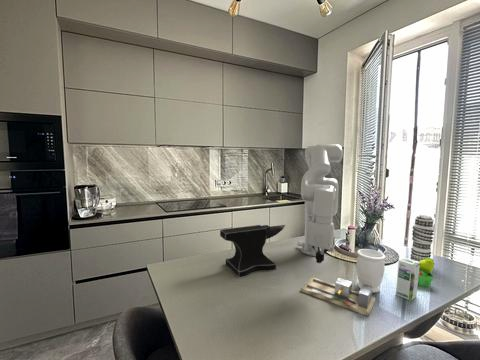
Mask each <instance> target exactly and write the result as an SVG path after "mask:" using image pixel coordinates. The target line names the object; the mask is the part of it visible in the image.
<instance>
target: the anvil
mask: <svg viewBox="0 0 480 360" xmlns="http://www.w3.org/2000/svg"><path fill="white" fill-rule="evenodd" d="M285 227H286V224H281V225H271V226H270V225H267V224H264V225H260V224H256V225H250V226H249V225H247V226H241V227H232V228H225V229H220V230H219V236H220V237H221V238H222V239H223V240H224V241H227V242H232V244H233V245H234V249H235V252H234V255H233V256H232V257H230V258H225V265H226V266H227V268H229V269H230V271H231V272H232V273H233V274H234V275H235V276H236V277H237V278H238V279H239V278H245V277H247V276H249V275H251V274H253V273H256V272H270V271H276V270H277V263H276V262H274V261H273V260H271V259H270V258H269V257H268V256H266V255H265V253H264V252H263V251H264V250H263V249H264V246H265V245H266V242H267V240H268V239H271V238H273V237H275V236H277V235H278V234H279V233H281V231H283V229H285Z"/></svg>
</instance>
